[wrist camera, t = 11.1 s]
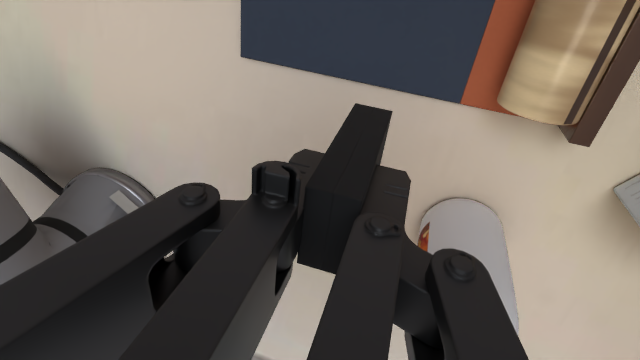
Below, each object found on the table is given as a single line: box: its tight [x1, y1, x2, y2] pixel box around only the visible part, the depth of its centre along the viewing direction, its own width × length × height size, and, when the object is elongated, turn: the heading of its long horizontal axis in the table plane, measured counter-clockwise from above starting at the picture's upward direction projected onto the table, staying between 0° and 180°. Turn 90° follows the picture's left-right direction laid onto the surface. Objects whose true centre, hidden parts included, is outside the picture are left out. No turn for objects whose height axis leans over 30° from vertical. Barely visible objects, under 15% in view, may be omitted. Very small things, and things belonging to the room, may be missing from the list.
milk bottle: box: [418, 198, 518, 335], centre depth 29 cm, size 8×8×20 cm
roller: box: [497, 0, 640, 125], centre depth 25 cm, size 6×8×6 cm
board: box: [241, 0, 640, 147], centre depth 28 cm, size 30×11×4 cm, turn 83°
